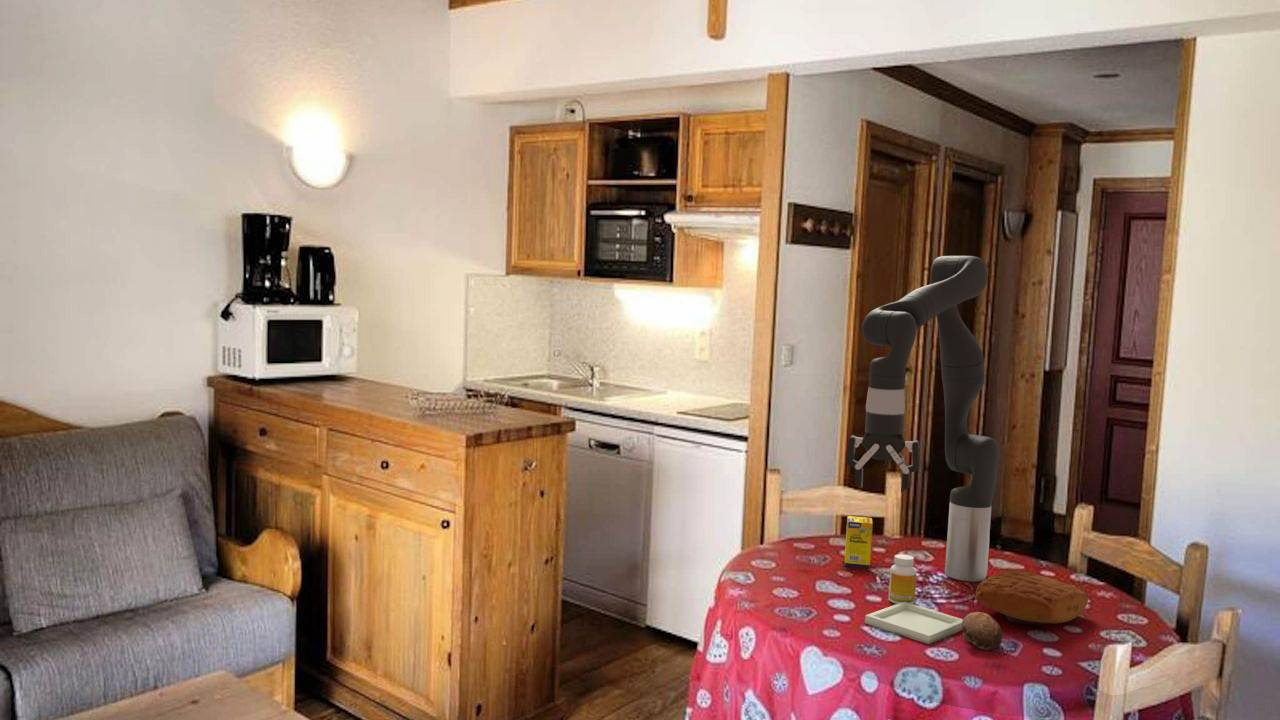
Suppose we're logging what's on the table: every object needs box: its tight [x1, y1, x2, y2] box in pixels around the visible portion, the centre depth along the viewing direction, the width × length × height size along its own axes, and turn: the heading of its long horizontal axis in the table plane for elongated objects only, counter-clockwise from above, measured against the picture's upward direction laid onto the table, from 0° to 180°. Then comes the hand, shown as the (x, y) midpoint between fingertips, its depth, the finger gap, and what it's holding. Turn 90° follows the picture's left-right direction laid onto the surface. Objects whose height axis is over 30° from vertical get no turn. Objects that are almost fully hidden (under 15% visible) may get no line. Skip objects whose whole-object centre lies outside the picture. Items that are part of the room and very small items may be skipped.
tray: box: [864, 602, 964, 645], centre depth 194 cm, size 14×14×2 cm
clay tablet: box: [974, 569, 1089, 624], centre depth 201 cm, size 22×17×8 cm
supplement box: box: [844, 515, 874, 569], centre depth 235 cm, size 6×6×11 cm
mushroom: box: [962, 611, 1004, 651], centre depth 185 cm, size 8×8×6 cm
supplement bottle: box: [888, 553, 917, 605], centre depth 208 cm, size 5×5×10 cm
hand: (881, 489), depth 199 cm, fingers open, 8 cm apart
